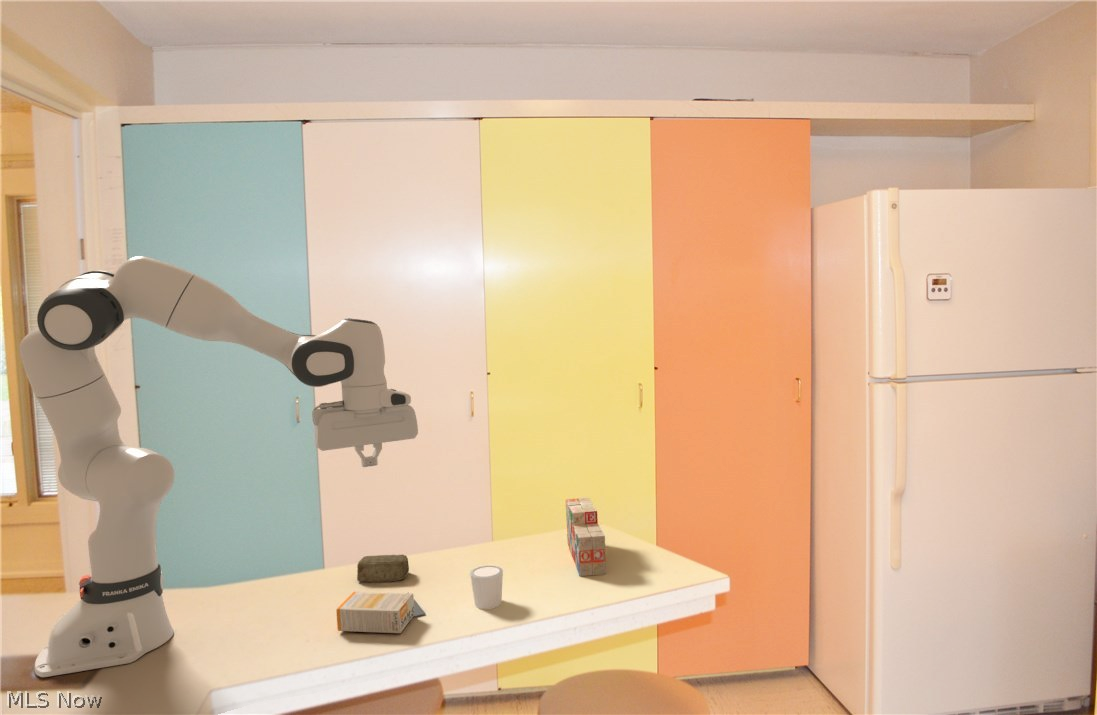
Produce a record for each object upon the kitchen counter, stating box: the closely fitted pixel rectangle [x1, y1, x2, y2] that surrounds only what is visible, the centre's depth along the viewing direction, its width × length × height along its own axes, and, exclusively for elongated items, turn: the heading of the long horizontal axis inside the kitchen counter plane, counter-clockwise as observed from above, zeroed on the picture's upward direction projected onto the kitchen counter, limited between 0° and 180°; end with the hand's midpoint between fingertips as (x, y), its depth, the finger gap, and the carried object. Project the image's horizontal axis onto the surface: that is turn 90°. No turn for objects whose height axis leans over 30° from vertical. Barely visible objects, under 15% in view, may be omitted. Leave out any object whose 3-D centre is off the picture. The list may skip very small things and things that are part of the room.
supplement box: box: [336, 591, 415, 634], centre depth 139 cm, size 8×5×13 cm
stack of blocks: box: [565, 497, 606, 577], centre depth 169 cm, size 21×6×12 cm, turn 6°
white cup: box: [469, 565, 504, 610], centre depth 147 cm, size 7×7×7 cm
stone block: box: [356, 554, 410, 583], centre depth 163 cm, size 6×12×5 cm, turn 90°
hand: (369, 465), depth 142 cm, fingers closed
